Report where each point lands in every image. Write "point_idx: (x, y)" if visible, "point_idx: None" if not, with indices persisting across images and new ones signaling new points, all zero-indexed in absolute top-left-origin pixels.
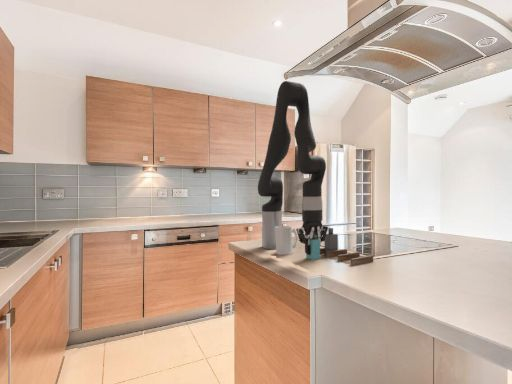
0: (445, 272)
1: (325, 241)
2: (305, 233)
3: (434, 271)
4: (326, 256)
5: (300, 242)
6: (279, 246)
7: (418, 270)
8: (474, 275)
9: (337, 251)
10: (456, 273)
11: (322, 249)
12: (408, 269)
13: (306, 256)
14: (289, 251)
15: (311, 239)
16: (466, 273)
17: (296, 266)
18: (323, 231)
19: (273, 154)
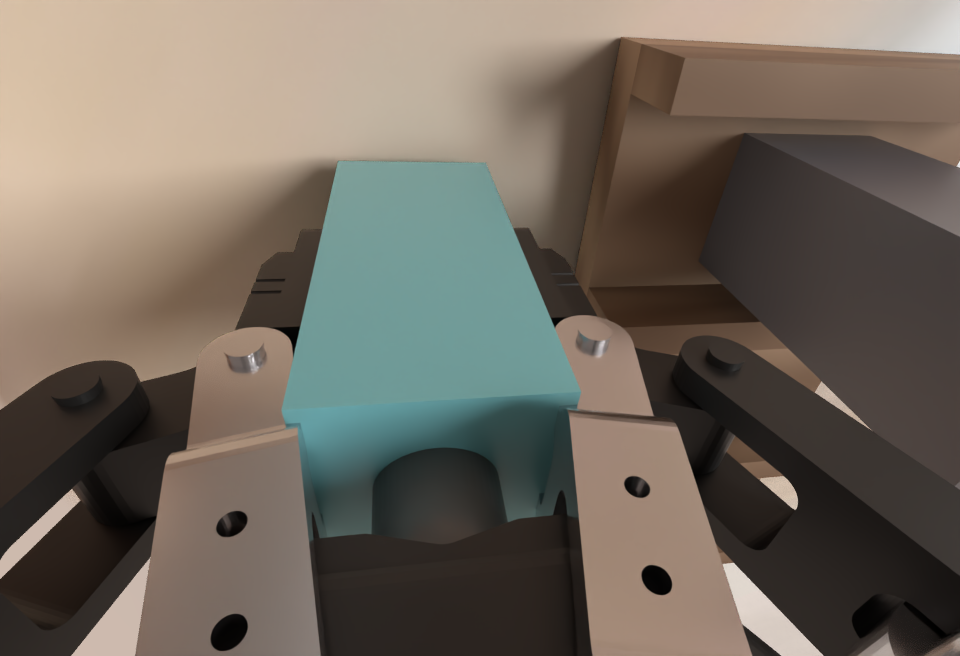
0: (781, 626)
1: (897, 252)
2: (173, 609)
3: (772, 614)
4: (590, 302)
5: (56, 375)
6: None
7: (749, 598)
8: (795, 653)
9: (763, 346)
10: (789, 636)
11: (789, 113)
12: (740, 583)
13: (334, 184)
14: None
15: (356, 513)
16: (809, 641)
17: (77, 299)
18: (850, 636)
19: None
